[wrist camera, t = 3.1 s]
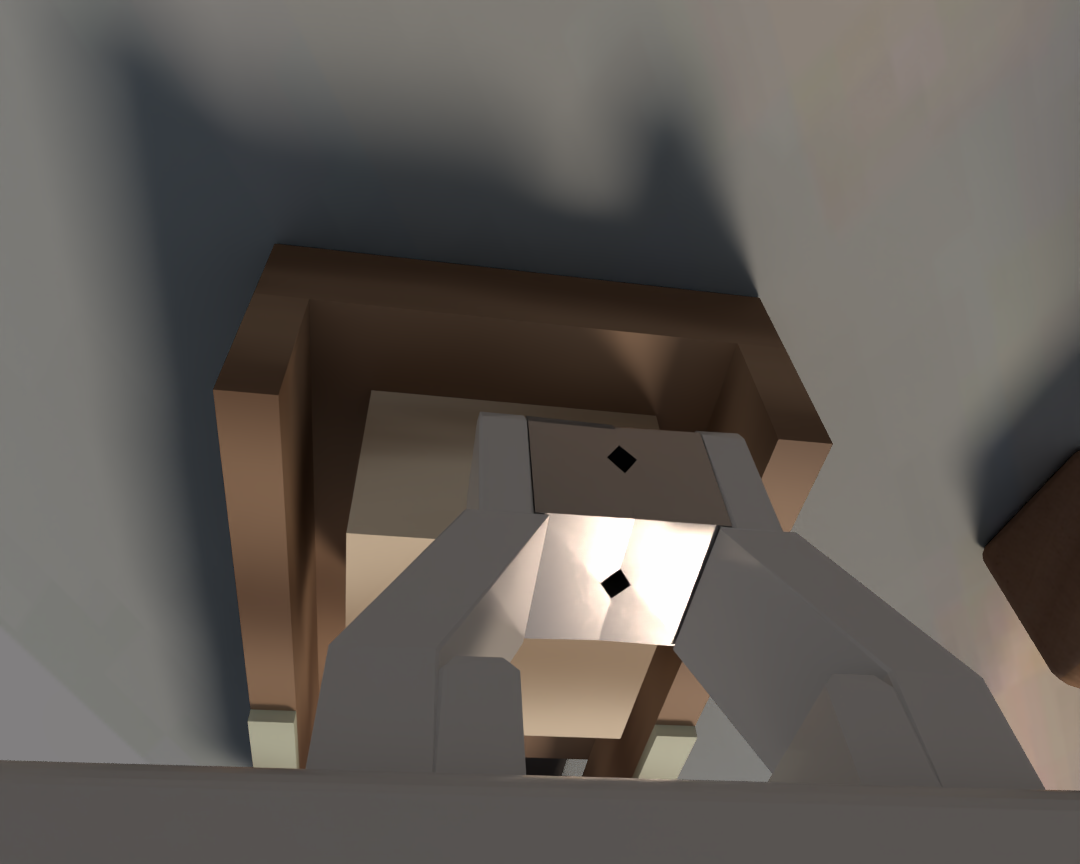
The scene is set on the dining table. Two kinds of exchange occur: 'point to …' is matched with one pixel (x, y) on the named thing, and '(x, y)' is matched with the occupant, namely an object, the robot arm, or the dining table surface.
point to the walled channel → (481, 374)
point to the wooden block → (1045, 569)
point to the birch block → (432, 505)
